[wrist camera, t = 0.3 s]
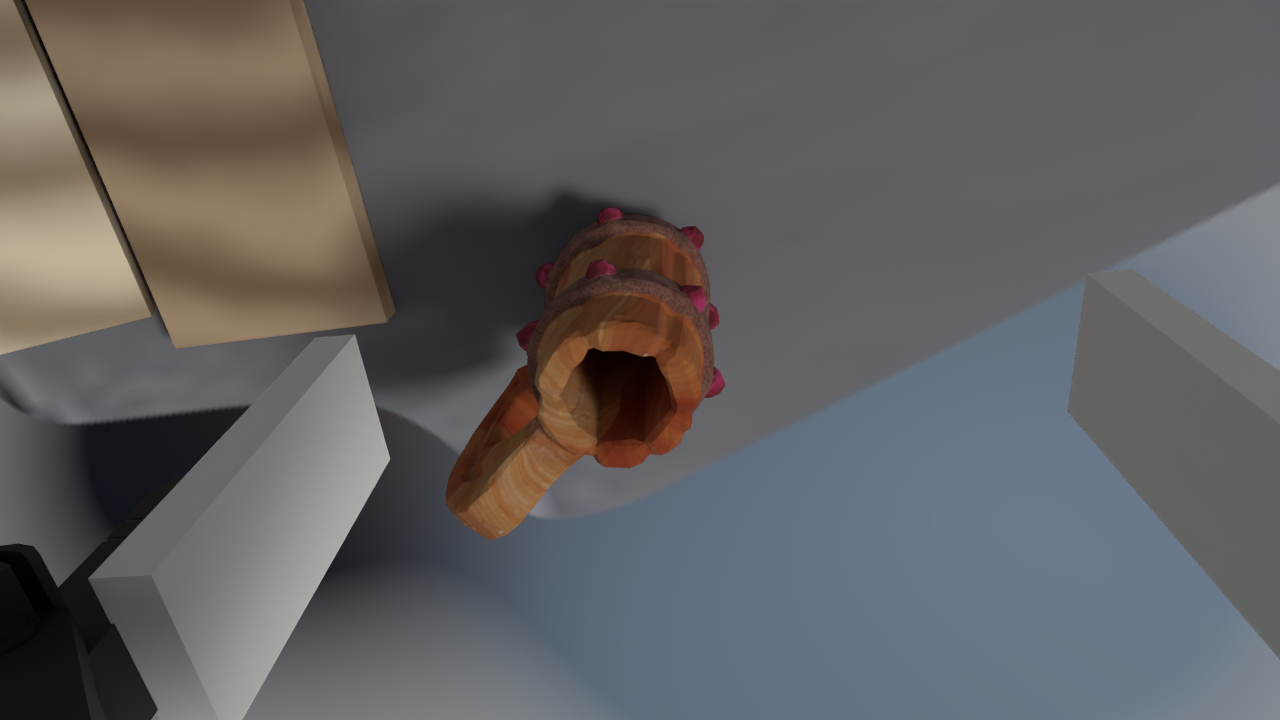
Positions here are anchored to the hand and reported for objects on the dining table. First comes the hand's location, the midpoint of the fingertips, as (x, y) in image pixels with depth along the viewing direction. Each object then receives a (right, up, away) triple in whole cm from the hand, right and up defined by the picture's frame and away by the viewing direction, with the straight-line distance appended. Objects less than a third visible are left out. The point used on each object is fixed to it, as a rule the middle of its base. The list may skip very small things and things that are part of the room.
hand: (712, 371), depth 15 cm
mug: (-4, +3, +29) cm, 30 cm away
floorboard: (-22, +12, +26) cm, 36 cm away
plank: (-33, +10, +25) cm, 42 cm away
